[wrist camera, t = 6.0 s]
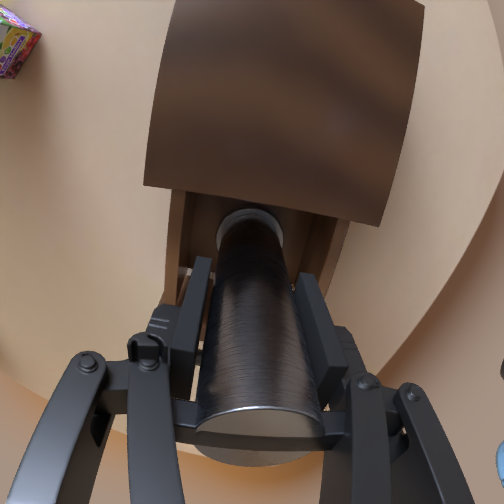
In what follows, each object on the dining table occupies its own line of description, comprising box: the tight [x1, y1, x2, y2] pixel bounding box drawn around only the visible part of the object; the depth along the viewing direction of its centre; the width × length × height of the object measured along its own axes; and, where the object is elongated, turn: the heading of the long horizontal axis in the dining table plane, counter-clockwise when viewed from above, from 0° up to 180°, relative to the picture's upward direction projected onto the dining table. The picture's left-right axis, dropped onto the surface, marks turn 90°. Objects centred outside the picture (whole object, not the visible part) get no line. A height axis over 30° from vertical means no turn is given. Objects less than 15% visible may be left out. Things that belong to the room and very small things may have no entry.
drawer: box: [158, 189, 350, 366], centre depth 21 cm, size 18×11×6 cm, turn 169°
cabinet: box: [143, 0, 425, 227], centre depth 16 cm, size 14×13×8 cm
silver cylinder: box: [171, 204, 346, 467], centre depth 15 cm, size 7×5×16 cm
